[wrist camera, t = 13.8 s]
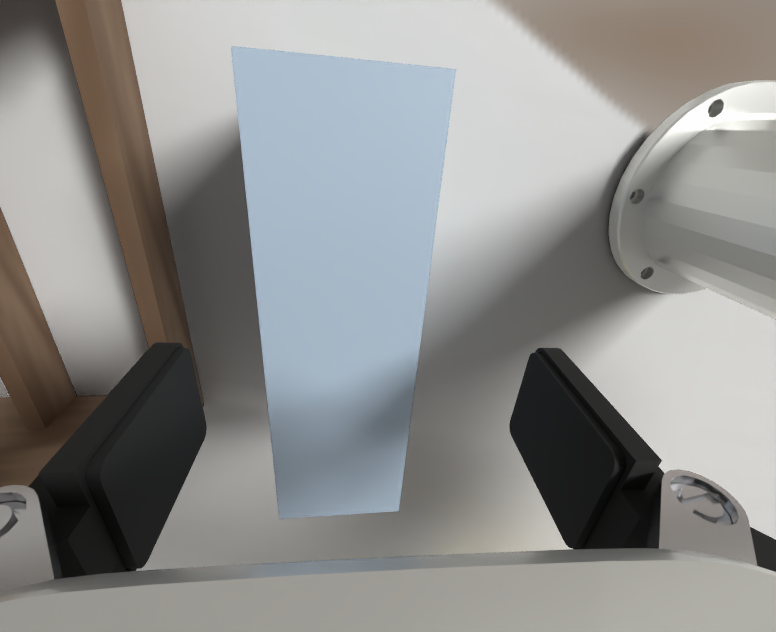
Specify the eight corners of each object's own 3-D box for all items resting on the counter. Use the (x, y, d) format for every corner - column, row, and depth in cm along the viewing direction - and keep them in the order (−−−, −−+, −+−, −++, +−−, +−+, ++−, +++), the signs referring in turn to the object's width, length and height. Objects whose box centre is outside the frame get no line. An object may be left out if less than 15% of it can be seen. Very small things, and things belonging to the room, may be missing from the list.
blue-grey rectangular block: (391, 97, 19) (455, 68, 9) (374, 355, 26) (398, 511, 16) (292, 89, 18) (230, 45, 8) (303, 356, 26) (279, 519, 15)
